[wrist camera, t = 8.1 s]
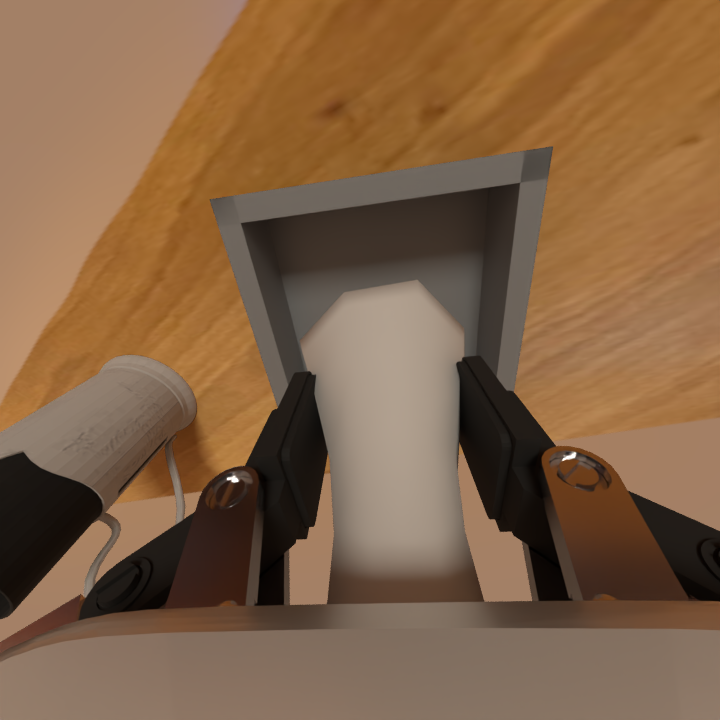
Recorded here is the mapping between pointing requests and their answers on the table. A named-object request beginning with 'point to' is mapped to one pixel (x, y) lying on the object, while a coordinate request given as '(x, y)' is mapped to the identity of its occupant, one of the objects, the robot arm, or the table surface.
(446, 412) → the flask
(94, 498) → the grey mug
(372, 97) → the table surface
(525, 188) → the charcoal box
